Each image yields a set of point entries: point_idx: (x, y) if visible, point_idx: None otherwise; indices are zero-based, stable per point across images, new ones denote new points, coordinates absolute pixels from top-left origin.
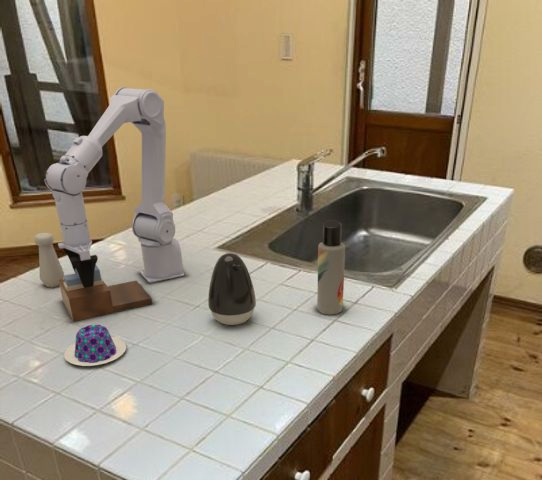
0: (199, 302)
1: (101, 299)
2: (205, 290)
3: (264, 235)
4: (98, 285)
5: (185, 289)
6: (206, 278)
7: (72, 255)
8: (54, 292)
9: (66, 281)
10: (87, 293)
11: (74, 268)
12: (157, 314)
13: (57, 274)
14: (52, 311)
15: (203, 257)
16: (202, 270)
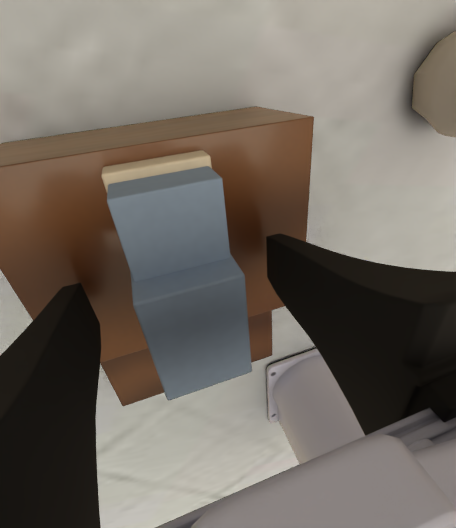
0: (103, 467)
1: None
2: (172, 462)
3: None
4: None
5: (194, 431)
6: (236, 450)
7: (351, 314)
8: (367, 74)
9: (107, 196)
10: (38, 284)
11: (291, 254)
12: None
13: (451, 109)
14: (164, 36)
15: None
16: (280, 437)
